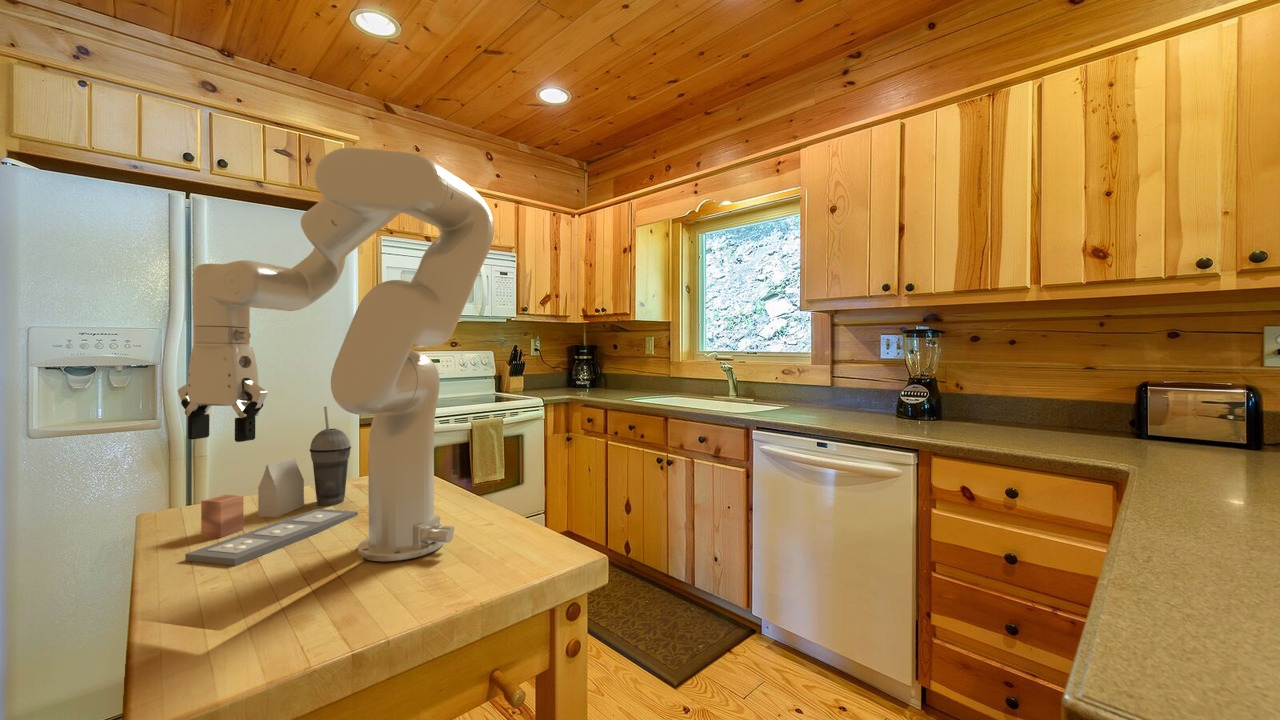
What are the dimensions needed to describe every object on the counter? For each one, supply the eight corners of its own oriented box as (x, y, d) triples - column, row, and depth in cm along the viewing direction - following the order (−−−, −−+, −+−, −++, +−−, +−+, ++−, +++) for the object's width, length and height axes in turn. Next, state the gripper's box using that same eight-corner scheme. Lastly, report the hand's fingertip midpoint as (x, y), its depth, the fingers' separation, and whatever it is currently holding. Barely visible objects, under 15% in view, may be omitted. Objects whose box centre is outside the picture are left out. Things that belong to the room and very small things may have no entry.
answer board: (357, 517, 100) (357, 510, 100) (235, 565, 77) (235, 557, 77) (316, 513, 102) (316, 507, 102) (185, 560, 79) (185, 552, 79)
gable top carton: (303, 509, 105) (303, 458, 105) (276, 520, 98) (276, 465, 98) (286, 509, 105) (286, 458, 105) (258, 519, 99) (258, 465, 99)
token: (243, 530, 92) (243, 496, 92) (220, 538, 88) (220, 502, 88) (224, 529, 93) (224, 494, 93) (201, 536, 89) (201, 500, 89)
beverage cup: (332, 512, 103) (332, 408, 103) (300, 510, 104) (300, 407, 104) (359, 502, 110) (359, 405, 110) (329, 500, 112) (328, 404, 111)
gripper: (283, 339, 92) (283, 438, 92) (203, 339, 96) (203, 434, 96) (242, 337, 85) (242, 445, 85) (157, 337, 89) (157, 440, 89)
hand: (221, 439), depth 91 cm, fingers open, 9 cm apart
